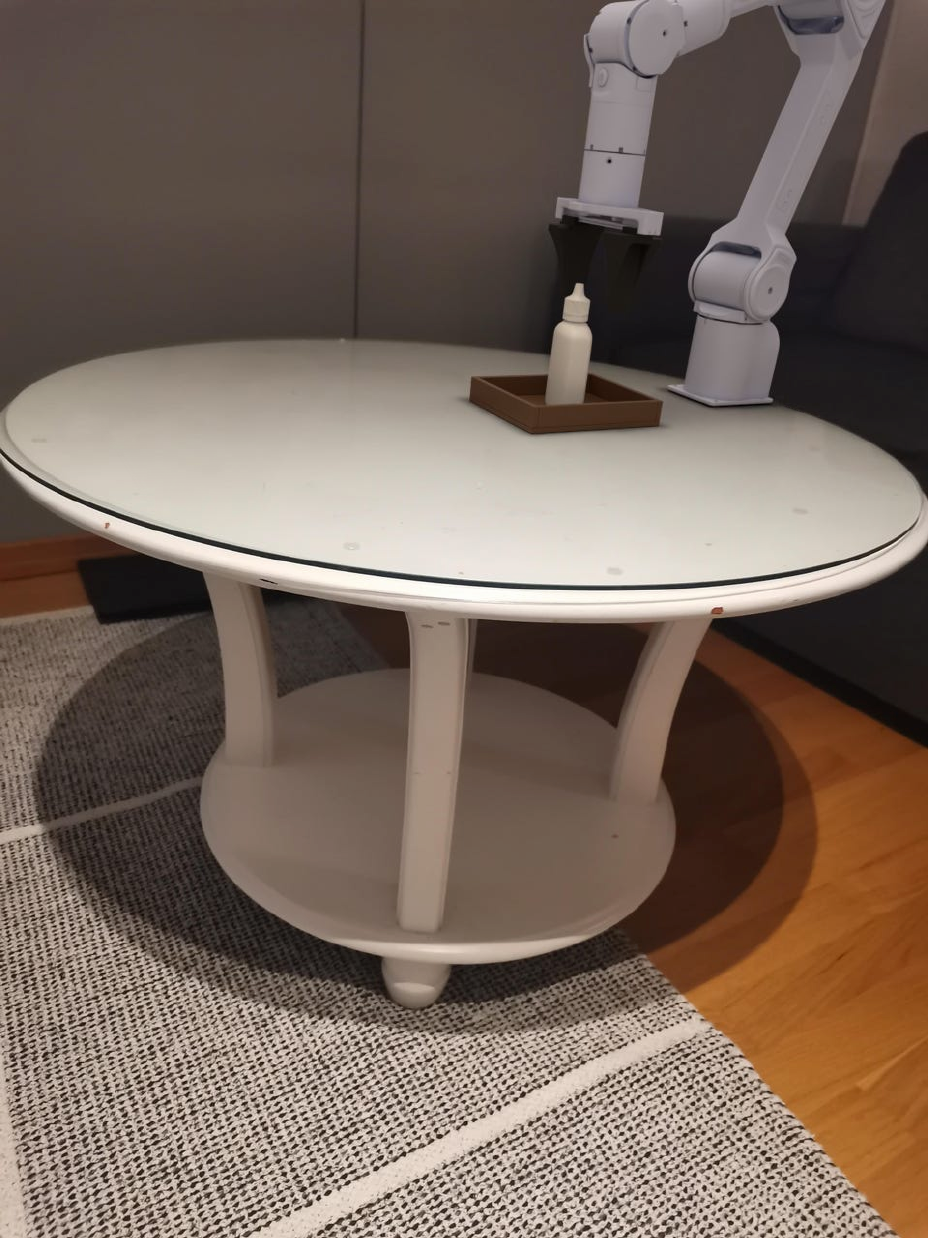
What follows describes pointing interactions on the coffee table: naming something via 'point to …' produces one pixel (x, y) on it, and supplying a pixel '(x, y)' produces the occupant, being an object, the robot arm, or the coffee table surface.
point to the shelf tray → (600, 409)
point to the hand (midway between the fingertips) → (593, 304)
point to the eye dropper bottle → (570, 352)
